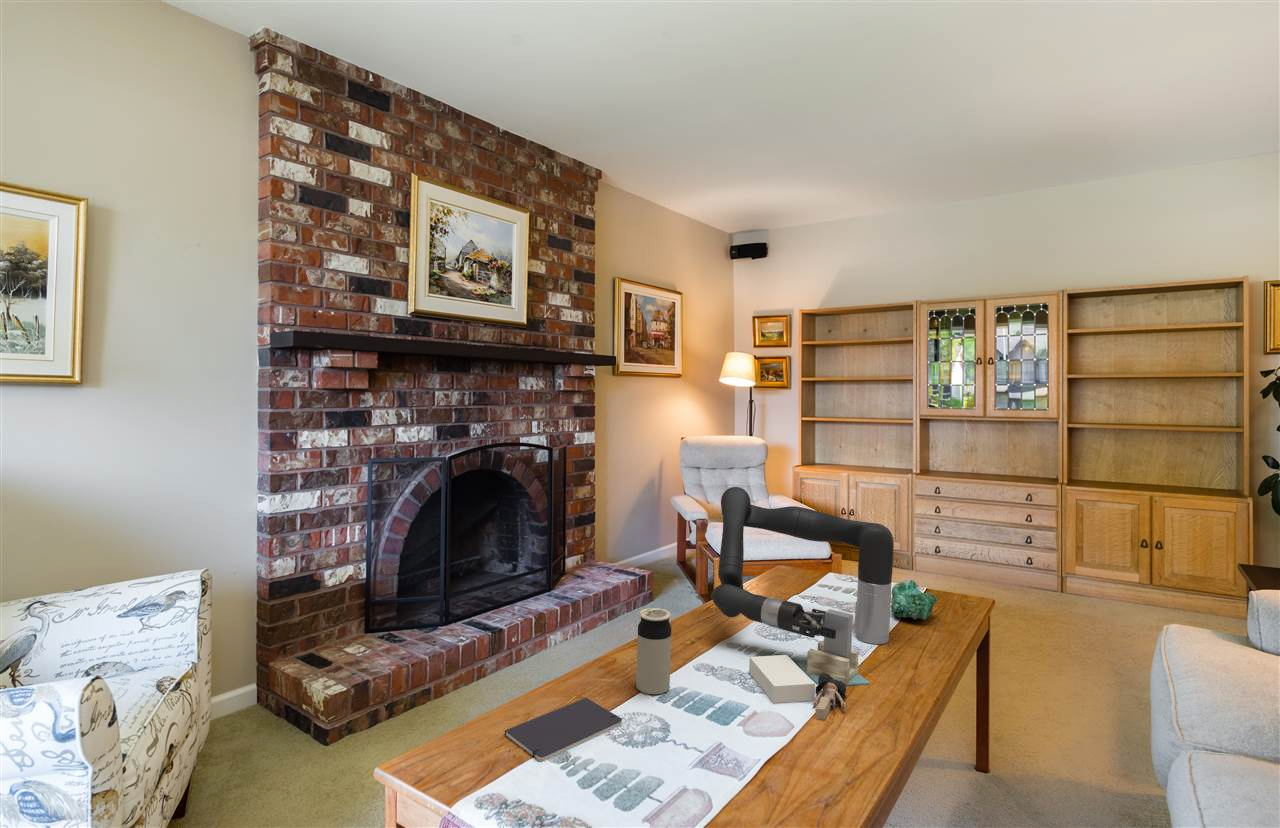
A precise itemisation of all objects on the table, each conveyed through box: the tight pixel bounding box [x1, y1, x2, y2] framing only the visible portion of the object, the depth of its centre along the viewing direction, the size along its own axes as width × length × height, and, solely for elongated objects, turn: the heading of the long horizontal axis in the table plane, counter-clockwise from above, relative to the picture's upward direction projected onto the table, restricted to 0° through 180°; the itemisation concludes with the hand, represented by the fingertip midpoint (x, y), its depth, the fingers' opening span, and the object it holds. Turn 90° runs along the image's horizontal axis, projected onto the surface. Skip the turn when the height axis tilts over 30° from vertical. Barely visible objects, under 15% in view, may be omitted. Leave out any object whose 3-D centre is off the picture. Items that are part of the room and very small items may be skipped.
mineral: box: [890, 579, 938, 622], centre depth 208 cm, size 18×16×10 cm
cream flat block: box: [748, 654, 816, 704], centre depth 156 cm, size 16×10×4 cm, turn 11°
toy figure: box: [812, 672, 847, 720], centre depth 148 cm, size 7×6×15 cm
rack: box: [806, 641, 859, 685], centre depth 164 cm, size 10×9×6 cm
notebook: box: [504, 697, 623, 762], centre depth 134 cm, size 13×2×21 cm
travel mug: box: [635, 607, 672, 695], centre depth 153 cm, size 8×8×18 cm
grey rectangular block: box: [823, 608, 854, 670], centre depth 163 cm, size 6×3×14 cm, turn 53°
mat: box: [797, 661, 871, 687], centre depth 164 cm, size 13×13×1 cm
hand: (841, 629), depth 162 cm, fingers open, 8 cm apart
